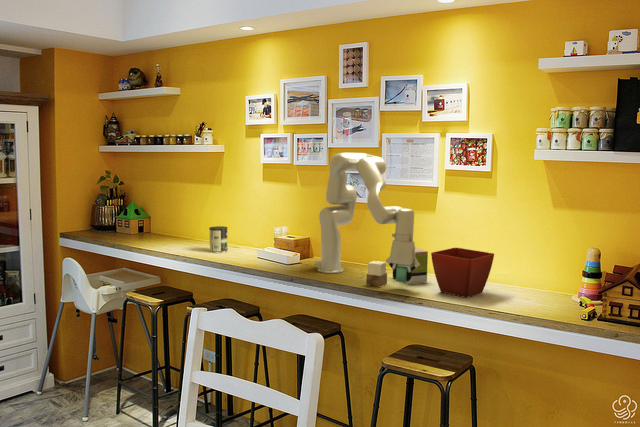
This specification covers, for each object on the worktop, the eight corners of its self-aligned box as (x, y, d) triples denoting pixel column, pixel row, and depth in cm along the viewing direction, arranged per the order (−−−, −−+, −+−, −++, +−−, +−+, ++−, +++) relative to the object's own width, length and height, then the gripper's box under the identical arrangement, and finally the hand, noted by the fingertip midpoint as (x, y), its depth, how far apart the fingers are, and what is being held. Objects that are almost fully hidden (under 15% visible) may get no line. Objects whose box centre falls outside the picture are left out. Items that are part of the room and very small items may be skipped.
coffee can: (225, 249, 326) (225, 225, 324) (229, 252, 316) (229, 228, 315) (208, 250, 322) (207, 226, 320) (211, 253, 312) (211, 228, 311)
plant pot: (468, 301, 218) (470, 259, 216) (428, 292, 231) (430, 252, 229) (493, 293, 231) (495, 253, 229) (454, 284, 244) (455, 247, 243)
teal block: (394, 281, 234) (394, 267, 233) (397, 278, 239) (398, 265, 238) (405, 283, 232) (406, 269, 231) (409, 280, 237) (410, 266, 236)
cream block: (367, 274, 241) (367, 263, 241) (373, 271, 247) (373, 260, 246) (380, 275, 239) (380, 264, 238) (385, 273, 244) (385, 262, 243)
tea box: (391, 277, 258) (392, 246, 256) (410, 276, 261) (411, 245, 259) (408, 284, 244) (409, 251, 242) (427, 283, 247) (428, 250, 246)
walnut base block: (366, 285, 242) (366, 274, 241) (372, 282, 248) (372, 271, 248) (381, 287, 239) (381, 276, 238) (386, 284, 245) (387, 273, 244)
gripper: (381, 236, 233) (379, 278, 236) (421, 241, 226) (418, 284, 228) (387, 234, 240) (385, 275, 242) (426, 238, 232) (423, 280, 235)
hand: (401, 279), depth 235 cm, fingers closed on teal block, 5 cm apart
